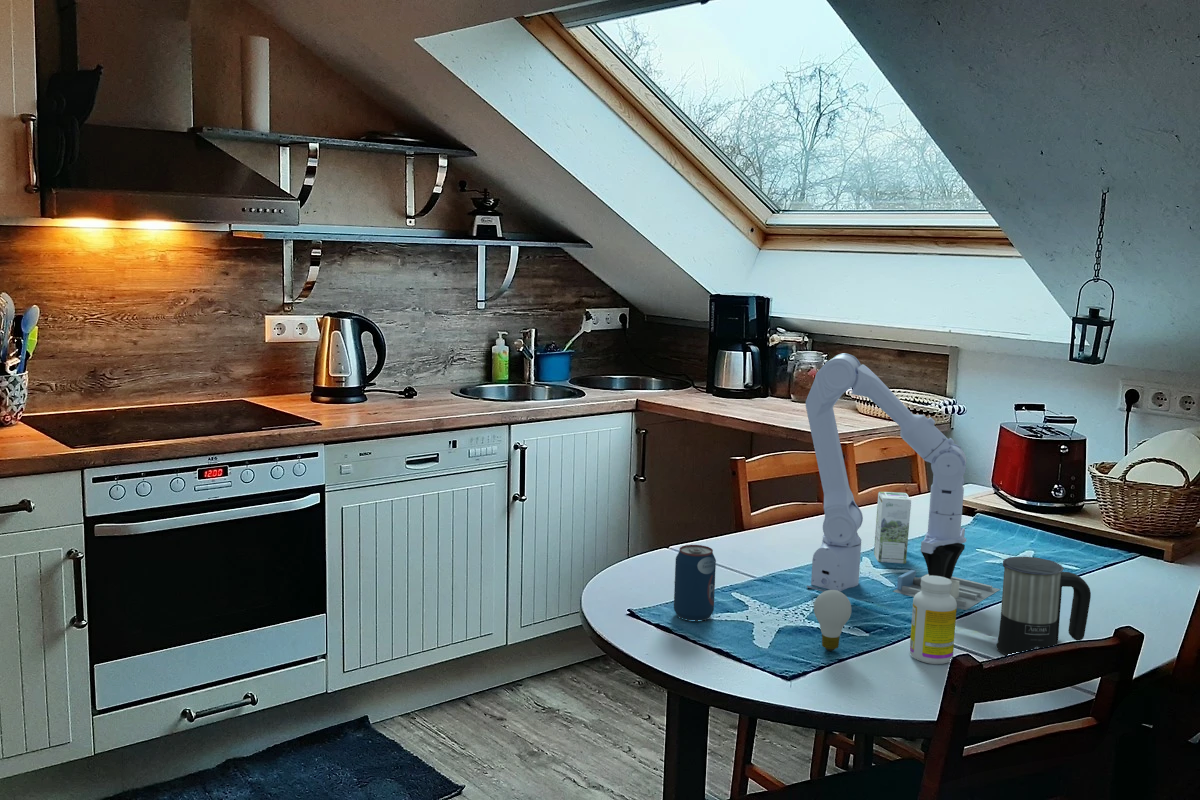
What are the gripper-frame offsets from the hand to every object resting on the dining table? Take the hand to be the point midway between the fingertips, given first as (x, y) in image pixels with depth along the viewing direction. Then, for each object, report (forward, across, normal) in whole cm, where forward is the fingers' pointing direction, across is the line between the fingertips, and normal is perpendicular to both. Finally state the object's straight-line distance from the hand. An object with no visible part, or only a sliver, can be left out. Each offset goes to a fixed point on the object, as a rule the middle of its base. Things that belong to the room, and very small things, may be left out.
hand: (940, 583), depth 199 cm
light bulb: (+3, -36, +2) cm, 37 cm away
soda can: (+3, -40, +27) cm, 48 cm away
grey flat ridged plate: (+3, +4, 0) cm, 5 cm away
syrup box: (+3, +14, +17) cm, 23 cm away
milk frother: (+3, -10, -20) cm, 22 cm away
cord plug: (+2, 0, 0) cm, 2 cm away
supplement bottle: (+3, -28, -11) cm, 30 cm away
